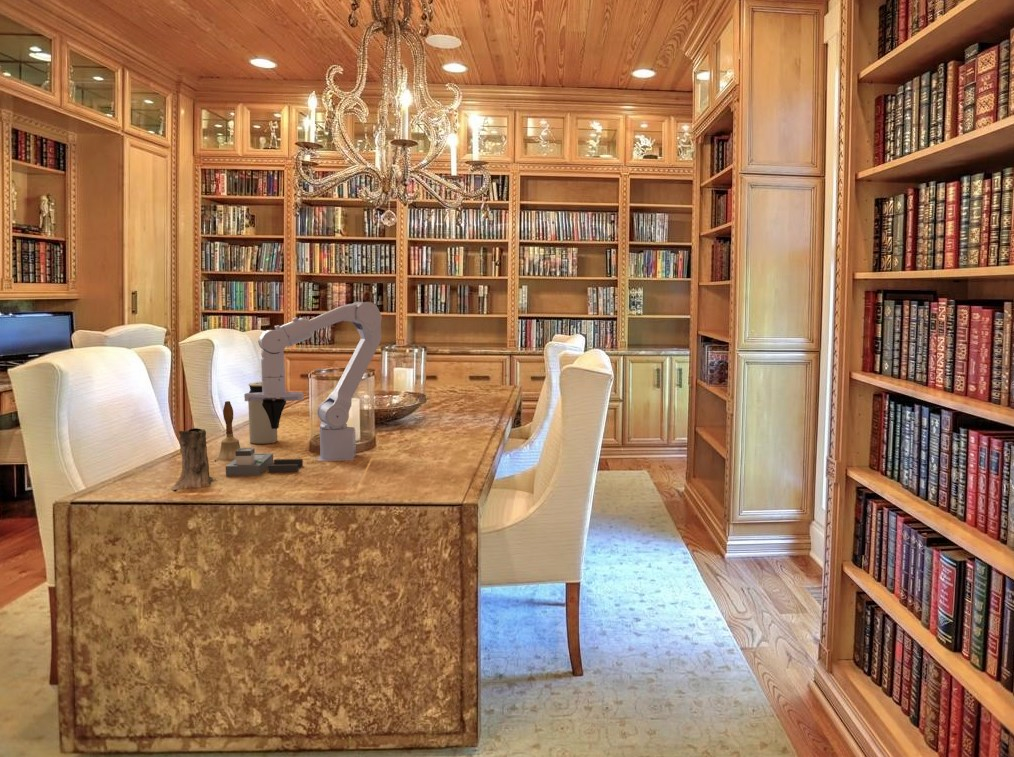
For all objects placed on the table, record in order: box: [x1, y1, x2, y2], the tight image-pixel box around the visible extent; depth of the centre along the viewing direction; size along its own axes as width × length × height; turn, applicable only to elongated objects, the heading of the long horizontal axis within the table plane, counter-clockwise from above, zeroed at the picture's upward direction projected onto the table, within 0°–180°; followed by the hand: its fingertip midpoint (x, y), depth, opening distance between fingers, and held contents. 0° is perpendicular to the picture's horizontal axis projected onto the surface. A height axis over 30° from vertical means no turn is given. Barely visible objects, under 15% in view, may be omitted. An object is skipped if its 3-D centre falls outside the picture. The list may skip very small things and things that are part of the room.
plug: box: [236, 447, 255, 465], centre depth 179 cm, size 4×4×6 cm
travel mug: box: [247, 381, 278, 445], centre depth 218 cm, size 8×8×18 cm
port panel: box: [225, 452, 274, 477], centre depth 183 cm, size 8×14×3 cm, turn 5°
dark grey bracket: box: [267, 458, 304, 474], centre depth 183 cm, size 7×7×2 cm
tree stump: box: [171, 427, 218, 491], centre depth 168 cm, size 10×10×14 cm
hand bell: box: [214, 400, 241, 462], centre depth 195 cm, size 8×8×16 cm
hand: (275, 428), depth 188 cm, fingers closed
